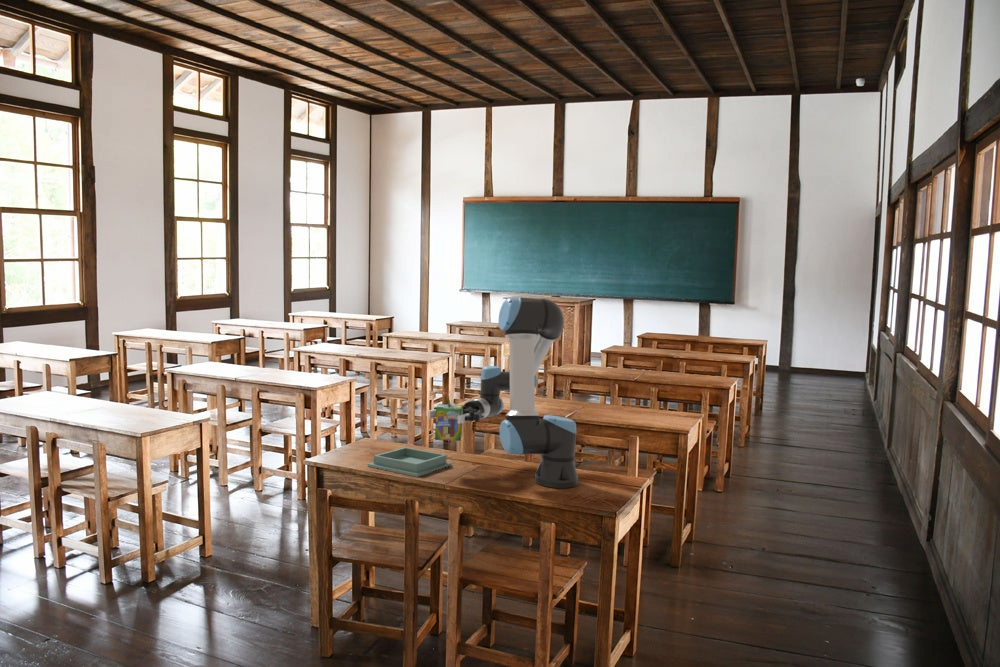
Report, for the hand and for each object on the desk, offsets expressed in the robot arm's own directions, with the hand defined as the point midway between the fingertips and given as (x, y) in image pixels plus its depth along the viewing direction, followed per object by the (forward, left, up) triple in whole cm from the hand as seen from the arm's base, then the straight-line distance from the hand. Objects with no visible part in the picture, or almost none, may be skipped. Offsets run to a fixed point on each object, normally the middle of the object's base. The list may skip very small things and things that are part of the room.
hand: (443, 417), depth 263 cm
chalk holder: (+16, -3, -21) cm, 26 cm away
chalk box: (0, -4, -8) cm, 9 cm away
